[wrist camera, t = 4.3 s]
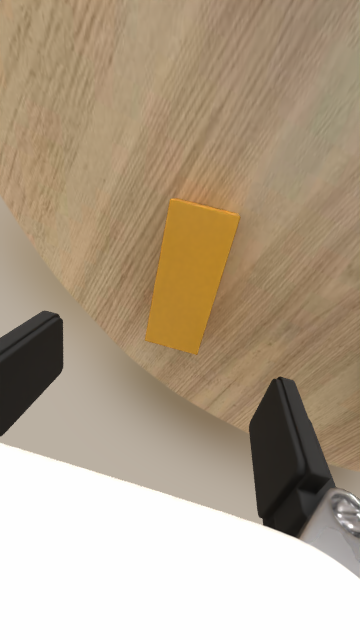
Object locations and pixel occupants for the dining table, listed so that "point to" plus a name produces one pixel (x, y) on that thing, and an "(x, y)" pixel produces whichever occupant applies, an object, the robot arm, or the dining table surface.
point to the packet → (189, 273)
